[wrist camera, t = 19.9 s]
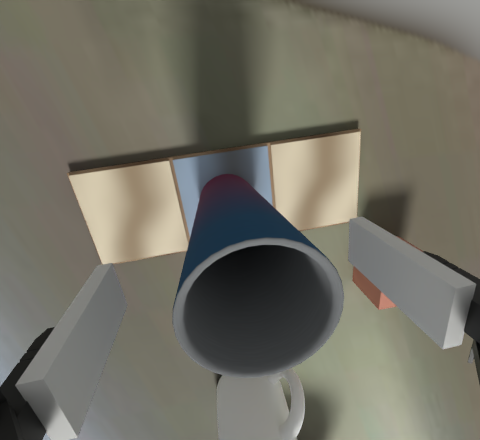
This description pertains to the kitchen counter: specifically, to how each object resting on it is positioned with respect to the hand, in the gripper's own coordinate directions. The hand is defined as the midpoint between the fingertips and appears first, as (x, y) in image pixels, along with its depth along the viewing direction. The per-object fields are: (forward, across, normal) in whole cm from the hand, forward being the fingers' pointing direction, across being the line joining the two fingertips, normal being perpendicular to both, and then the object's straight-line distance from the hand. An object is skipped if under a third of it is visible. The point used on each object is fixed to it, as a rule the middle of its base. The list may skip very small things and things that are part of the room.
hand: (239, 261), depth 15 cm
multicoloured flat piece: (+11, +1, 0) cm, 11 cm away
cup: (+11, 0, 0) cm, 11 cm away
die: (+11, +16, -10) cm, 22 cm away
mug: (+12, +1, -24) cm, 26 cm away
